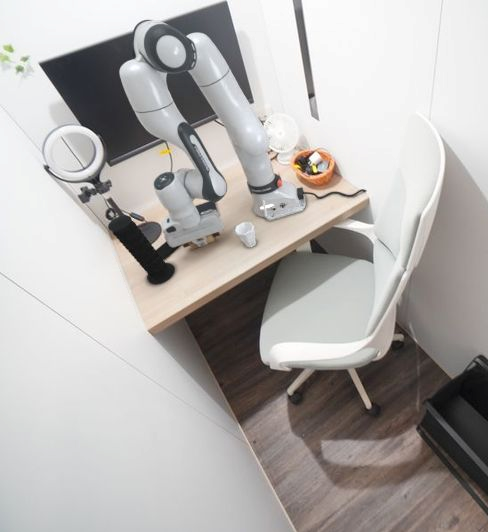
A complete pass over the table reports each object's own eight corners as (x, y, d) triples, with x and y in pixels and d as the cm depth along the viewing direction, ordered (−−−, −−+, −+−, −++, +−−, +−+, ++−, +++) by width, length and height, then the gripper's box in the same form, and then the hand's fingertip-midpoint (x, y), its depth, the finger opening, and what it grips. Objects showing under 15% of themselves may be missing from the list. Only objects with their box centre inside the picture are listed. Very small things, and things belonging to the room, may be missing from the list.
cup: (251, 252, 120) (244, 236, 114) (232, 244, 124) (224, 229, 118) (263, 240, 124) (257, 224, 118) (244, 232, 128) (237, 217, 122)
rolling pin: (222, 241, 125) (217, 232, 122) (186, 253, 123) (180, 244, 119) (220, 233, 129) (215, 224, 125) (185, 245, 126) (179, 236, 122)
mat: (214, 200, 144) (213, 199, 144) (218, 215, 137) (218, 215, 137) (178, 212, 142) (178, 211, 141) (181, 228, 134) (180, 227, 134)
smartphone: (140, 262, 122) (170, 237, 129) (141, 264, 122) (171, 238, 130) (152, 268, 119) (182, 242, 127) (153, 269, 119) (183, 243, 127)
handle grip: (161, 259, 122) (141, 278, 117) (120, 206, 102) (93, 226, 96) (180, 268, 119) (160, 288, 113) (141, 214, 98) (114, 235, 93)
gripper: (214, 202, 115) (228, 230, 126) (157, 221, 112) (176, 249, 122) (217, 212, 111) (231, 240, 122) (157, 232, 108) (177, 259, 118)
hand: (203, 245), depth 122 cm, fingers closed
